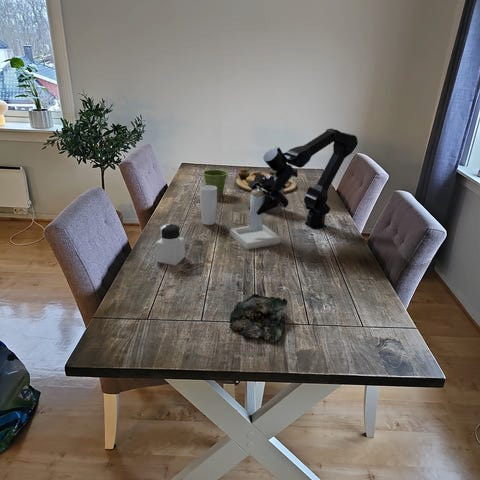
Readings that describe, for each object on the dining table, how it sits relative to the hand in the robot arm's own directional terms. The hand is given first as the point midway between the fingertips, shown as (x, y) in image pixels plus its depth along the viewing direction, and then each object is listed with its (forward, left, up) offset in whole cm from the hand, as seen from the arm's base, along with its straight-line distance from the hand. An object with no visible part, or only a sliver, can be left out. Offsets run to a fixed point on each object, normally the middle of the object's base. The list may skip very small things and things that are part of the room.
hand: (253, 211), depth 154 cm
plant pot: (-8, -53, -11) cm, 55 cm away
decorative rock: (+23, +46, -12) cm, 53 cm away
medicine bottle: (+33, +4, -11) cm, 35 cm away
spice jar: (-1, 0, -7) cm, 7 cm away
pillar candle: (-23, -25, -11) cm, 36 cm away
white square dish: (-1, 0, -11) cm, 11 cm away
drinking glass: (+9, -21, -11) cm, 25 cm away
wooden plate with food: (-40, -59, -12) cm, 72 cm away
